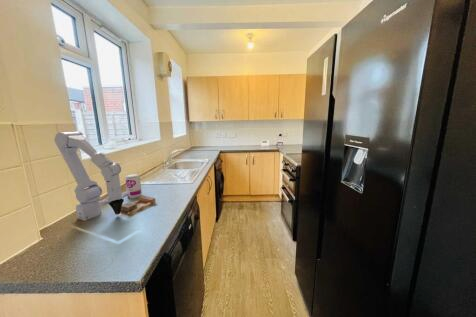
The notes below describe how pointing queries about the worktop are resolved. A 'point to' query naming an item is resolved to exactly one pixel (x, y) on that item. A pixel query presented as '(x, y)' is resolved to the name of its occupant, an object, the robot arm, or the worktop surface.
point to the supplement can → (133, 186)
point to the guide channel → (140, 206)
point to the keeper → (128, 207)
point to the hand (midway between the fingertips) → (117, 213)
